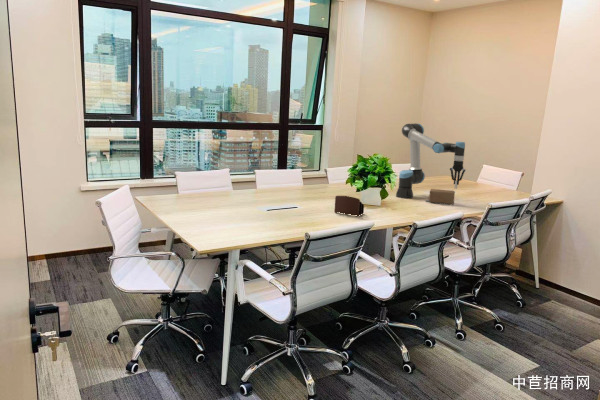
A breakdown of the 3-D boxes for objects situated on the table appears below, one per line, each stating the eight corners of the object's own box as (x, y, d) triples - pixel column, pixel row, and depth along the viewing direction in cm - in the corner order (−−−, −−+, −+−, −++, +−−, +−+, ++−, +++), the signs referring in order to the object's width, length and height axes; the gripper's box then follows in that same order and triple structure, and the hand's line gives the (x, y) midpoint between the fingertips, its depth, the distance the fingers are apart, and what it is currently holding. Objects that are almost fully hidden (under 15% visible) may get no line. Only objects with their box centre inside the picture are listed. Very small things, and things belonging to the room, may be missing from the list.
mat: (425, 201, 395) (425, 200, 395) (431, 198, 409) (431, 197, 408) (449, 205, 385) (449, 204, 385) (454, 202, 398) (454, 201, 398)
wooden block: (454, 192, 382) (429, 190, 389) (453, 204, 384) (428, 202, 391) (454, 190, 392) (430, 188, 398) (453, 202, 394) (429, 199, 400)
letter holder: (358, 217, 338) (359, 198, 335) (334, 212, 347) (334, 194, 344) (363, 214, 346) (364, 195, 343) (339, 210, 356) (340, 192, 353)
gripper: (449, 160, 383) (446, 188, 388) (465, 161, 376) (462, 190, 381) (451, 159, 389) (449, 186, 394) (467, 160, 382) (464, 188, 388)
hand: (455, 188), depth 388 cm, fingers closed
